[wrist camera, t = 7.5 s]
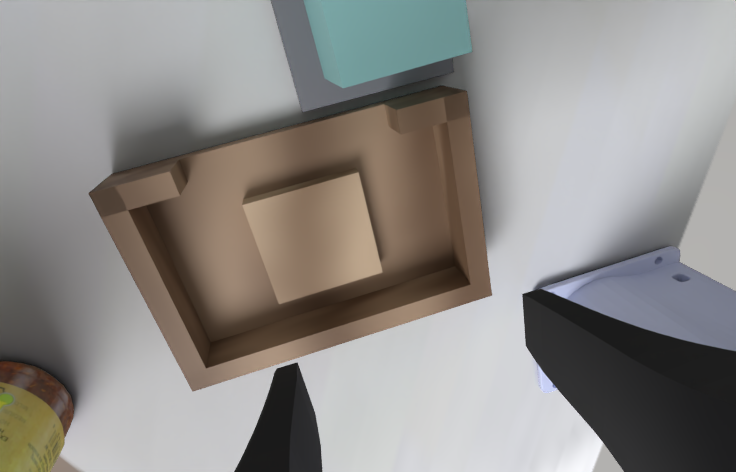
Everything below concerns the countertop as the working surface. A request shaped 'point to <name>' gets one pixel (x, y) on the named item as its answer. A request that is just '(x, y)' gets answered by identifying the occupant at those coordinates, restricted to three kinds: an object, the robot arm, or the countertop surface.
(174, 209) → the parts box
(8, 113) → the countertop surface
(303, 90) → the rubber mat
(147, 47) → the countertop surface
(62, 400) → the sauce bottle
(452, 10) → the teal block
